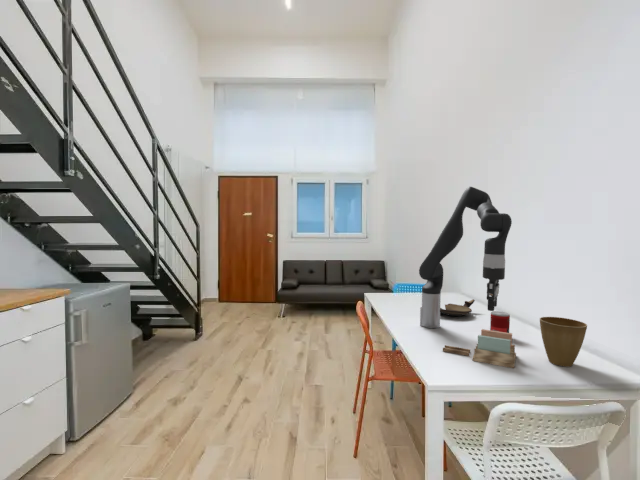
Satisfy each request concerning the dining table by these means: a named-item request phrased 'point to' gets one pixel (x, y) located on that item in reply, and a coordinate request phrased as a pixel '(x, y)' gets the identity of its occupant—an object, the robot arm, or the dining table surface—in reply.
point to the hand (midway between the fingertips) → (492, 308)
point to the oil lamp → (457, 309)
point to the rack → (495, 357)
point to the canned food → (500, 321)
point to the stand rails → (456, 350)
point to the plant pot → (562, 339)
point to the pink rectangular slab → (497, 335)
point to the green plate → (494, 344)
